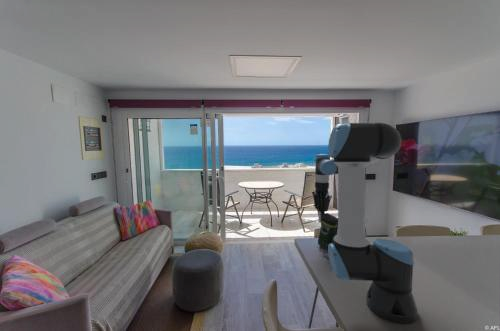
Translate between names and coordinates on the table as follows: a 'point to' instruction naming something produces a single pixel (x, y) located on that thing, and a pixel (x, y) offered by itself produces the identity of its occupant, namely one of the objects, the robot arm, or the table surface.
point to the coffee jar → (327, 230)
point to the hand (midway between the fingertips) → (320, 221)
